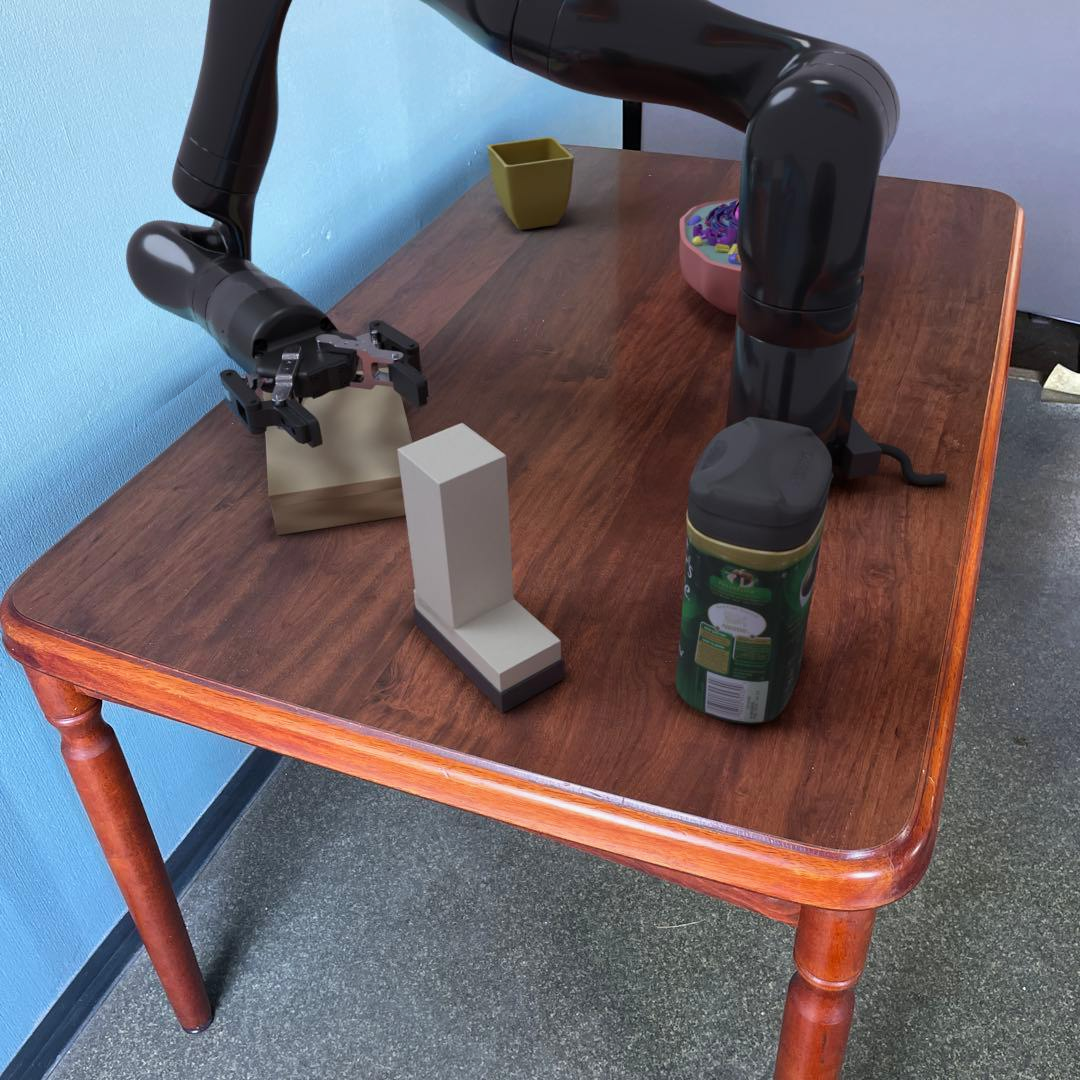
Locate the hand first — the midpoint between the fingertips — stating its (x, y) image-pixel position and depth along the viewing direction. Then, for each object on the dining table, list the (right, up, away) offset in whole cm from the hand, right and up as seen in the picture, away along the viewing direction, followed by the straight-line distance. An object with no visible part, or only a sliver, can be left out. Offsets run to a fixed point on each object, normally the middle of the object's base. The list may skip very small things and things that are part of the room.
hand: (371, 414), depth 76 cm
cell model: (+35, +17, +42) cm, 57 cm away
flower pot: (+11, +32, +61) cm, 69 cm away
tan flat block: (-5, -2, +19) cm, 20 cm away
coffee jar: (+25, -18, -3) cm, 31 cm away
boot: (+8, -17, 0) cm, 19 cm away
